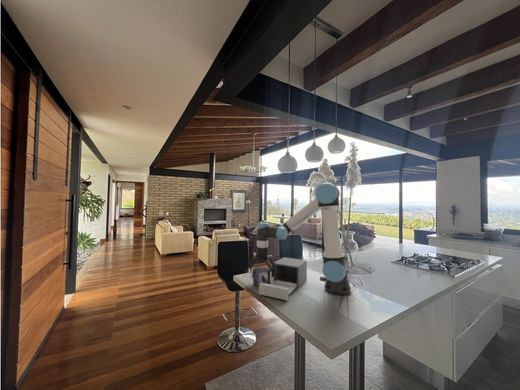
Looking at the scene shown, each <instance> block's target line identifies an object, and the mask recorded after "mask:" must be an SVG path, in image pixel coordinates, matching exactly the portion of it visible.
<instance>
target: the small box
mask: <svg viewBox="0 0 520 390" xmlns="http://www.w3.org/2000/svg"><path fill="white" fill-rule="evenodd" d="M270 272H271V270H270V269H269V267H268V268H266V267H260V266H257V267H254V270H253V278H252V281H253V282H252V285H253V287H258V288H259V284H260V283H266V284H271V283H272V282H271V283H270Z"/></svg>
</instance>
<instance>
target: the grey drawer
mask: <svg viewBox="0 0 520 390" xmlns="http://www.w3.org/2000/svg"><path fill="white" fill-rule="evenodd" d="M296 287H297V284H295V283H290V282H284V281H279V280H275V281H274V282H273V281H272V282H271V284H266V283H260V284H259V287H258V294H259V295H262V296H265V297H271V298H275V299H279V300H283V301H288V300H289V296H290V294H291V293H292V292H293V291H294V290H295V289H296Z"/></svg>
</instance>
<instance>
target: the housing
mask: <svg viewBox="0 0 520 390" xmlns="http://www.w3.org/2000/svg"><path fill="white" fill-rule="evenodd" d="M307 262H308V261H307V260H306V259H300V258H292V257H291V258H290V257H282V258H280V259H278V260H276V261H274V263H275V265H276V268H277V271H274V277H273V281H272V282H274V281H275V280H279V281H284V282H290V283H295V284H297V287H296V288H295V289H296V290H299V289H300V288H301V287H302V286H303V285H304V283H306V282H307V280H308V276H307V275H308V272H307V271H308V267H307V266H308V264H307Z"/></svg>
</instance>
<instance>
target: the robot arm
mask: <svg viewBox="0 0 520 390" xmlns="http://www.w3.org/2000/svg"><path fill="white" fill-rule="evenodd" d="M340 193H341V192H340V190H339V188H338V187H337V186H336V185H335V184H333V183H331V182H324V183H320V184H319V185H318V186H317V188H316V189H315V197H314V199H313V200H311V201H310V202H309V203H307V204H306V205H305V206H304V207H302V209H300V210H299V211H298V212H296V213H295V214H294V215H292V216H291V217H290V218H289V219H288V220H286V221H285V222H284V223H282V224H281V225H279V226H271V225H270V223H268V222H262V221H261V222H258V223H257V225H256V252H252V253H251V257H250V260H249V262H248V264H247V267H248V268H249V273H250V279H252V280H253V270H254V269H255V266H256V264H257V263H258V262H262V263H265V264H266V265H267V267H268V269H270V270H271V272H270V283H272V282H273V277H274V271H277V268H276V265H275V260H274V257H273V256H274V255H272V254H271V255H269V239H275V240H286V239H287V237H288V236H289V235H290V234H291V233H292V232H293V231H295V230H296V229H297V228H299V227H300V226H301V225H302V224H304V223H305V222H307V221H308V220H309V219H310V218H311V217H313V216H314V215H316V214H317V213H318V212H319V211H321V213H320V214H321V221H322V234H323V235H322V236H323V243H324V253H323V255H322V262H323V264H322V265H323V266H322V270H321V271H322V274H323V275H324V277H325V278H326V280H325V282H324V290H325V291H326V292H328V293H329V294H332V295H337V296H348V295H350V294H351V292H352V287H351V284H350V281H349V279H348V278H349V277H348V276H349V275H348V271H349V270H348V268H349V267H348V260H349V258H348V254H347V253H346V252H342V247H341V237H340V227H339V216H338V208H339V207H340V200H339V198H340ZM255 258H256V259H255Z"/></svg>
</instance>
